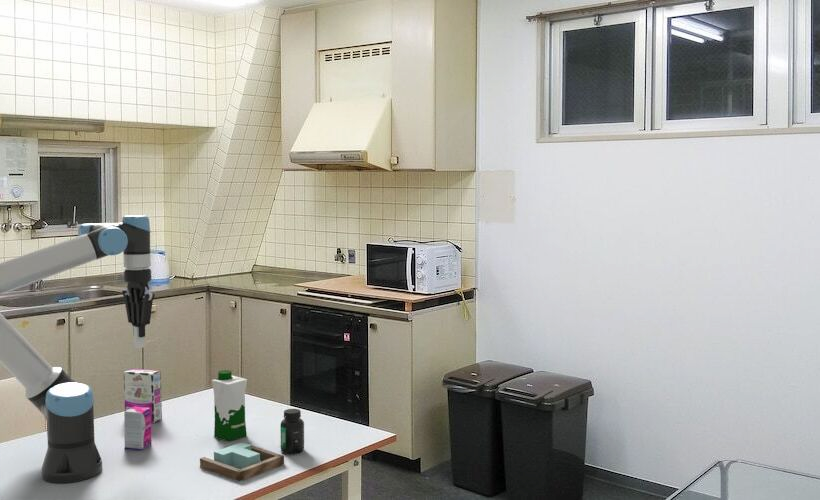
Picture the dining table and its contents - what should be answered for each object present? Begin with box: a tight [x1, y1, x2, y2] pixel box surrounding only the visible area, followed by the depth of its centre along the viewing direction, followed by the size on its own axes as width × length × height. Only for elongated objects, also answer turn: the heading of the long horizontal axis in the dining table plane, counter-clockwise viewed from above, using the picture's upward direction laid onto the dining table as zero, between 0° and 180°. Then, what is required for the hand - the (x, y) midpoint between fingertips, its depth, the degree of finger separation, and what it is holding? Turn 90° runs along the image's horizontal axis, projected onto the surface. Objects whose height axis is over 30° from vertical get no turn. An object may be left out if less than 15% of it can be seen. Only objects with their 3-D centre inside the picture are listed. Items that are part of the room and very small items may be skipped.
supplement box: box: [123, 406, 152, 451], centre depth 237 cm, size 6×6×12 cm
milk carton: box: [211, 369, 248, 442], centre depth 246 cm, size 9×9×20 cm
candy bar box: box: [123, 368, 163, 424], centre depth 262 cm, size 11×5×16 cm, turn 73°
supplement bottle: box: [279, 408, 305, 456], centre depth 235 cm, size 7×7×12 cm
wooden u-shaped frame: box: [199, 444, 285, 482], centre depth 223 cm, size 16×16×2 cm
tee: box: [213, 442, 261, 469], centre depth 224 cm, size 10×11×4 cm
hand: (139, 347), depth 237 cm, fingers closed
